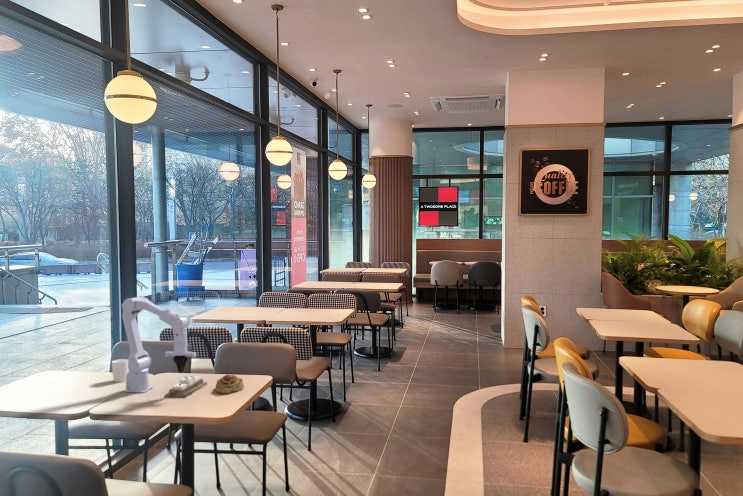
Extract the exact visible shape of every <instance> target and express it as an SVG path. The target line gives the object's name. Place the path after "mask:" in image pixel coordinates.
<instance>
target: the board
mask: <svg viewBox="0 0 743 496" xmlns="http://www.w3.org/2000/svg"><path fill="white" fill-rule="evenodd" d="M207 385H208V382H207V381H206V382H205V381H204V379H203V378H200V380H199V381H197V382H196V383H194V384H192V385H190V386H187V388H185V389H183V390H173V387H172V388H170V389H169V390H168V392H166V393H165V394H164V397H165V398H184V399H185V398H187V397H189V396H190V395H192V394H194V393H195V392H197V391H199V390H200V389H202V388H204V387H206V386H207ZM203 386H204V387H203Z"/></svg>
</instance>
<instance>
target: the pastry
mask: <svg viewBox="0 0 743 496" xmlns="http://www.w3.org/2000/svg"><path fill="white" fill-rule="evenodd" d="M244 388H245V385H244V382H243V378H241V377H238V376H237V375H235V374H232V373H231V374H230V373H229V374H225V375H224V376H221V378H219V379H217V381H216V384H215V389H214V393H215V392H216V393H215V394H218V395H231V394H233V393H237V392H240V391H242V390H244Z"/></svg>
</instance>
